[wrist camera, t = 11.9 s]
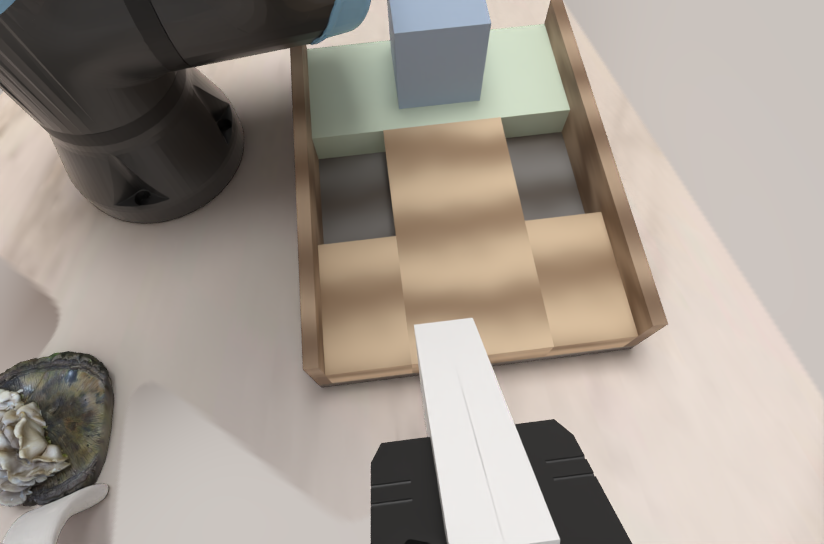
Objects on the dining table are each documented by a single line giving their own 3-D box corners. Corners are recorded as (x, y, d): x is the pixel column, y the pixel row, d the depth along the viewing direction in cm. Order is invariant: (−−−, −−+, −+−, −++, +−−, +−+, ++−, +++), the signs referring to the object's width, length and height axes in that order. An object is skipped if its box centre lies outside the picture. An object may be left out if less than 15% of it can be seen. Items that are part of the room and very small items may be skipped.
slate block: (479, 100, 44) (491, 23, 37) (399, 109, 44) (394, 33, 37) (466, 40, 47) (475, -44, 40) (390, 48, 47) (384, -34, 40)
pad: (561, 131, 47) (570, 109, 44) (318, 159, 46) (312, 138, 43) (537, 48, 50) (544, 23, 48) (313, 73, 50) (307, 49, 47)
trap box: (631, 348, 40) (668, 324, 34) (321, 387, 39) (303, 369, 33) (545, 55, 51) (561, -2, 45) (305, 81, 51) (289, 27, 45)
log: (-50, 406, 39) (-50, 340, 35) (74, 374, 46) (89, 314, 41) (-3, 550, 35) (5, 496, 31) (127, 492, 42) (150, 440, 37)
